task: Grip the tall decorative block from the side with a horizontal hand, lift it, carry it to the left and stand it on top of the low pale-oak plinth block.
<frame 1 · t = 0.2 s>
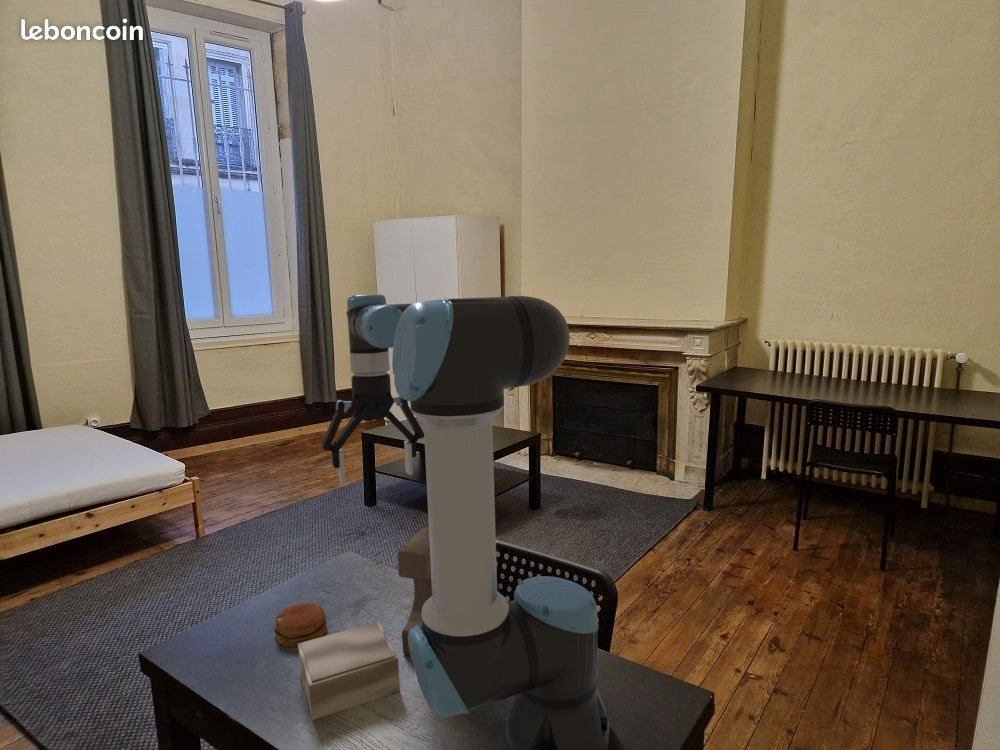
hand: (376, 478, 123), 27 cm above the table, tool pointing down, fingers open, 13 cm apart
burger: (301, 634, 118), on the table
decorative block: (429, 641, 115), on the table
plinth: (349, 683, 103), on the table
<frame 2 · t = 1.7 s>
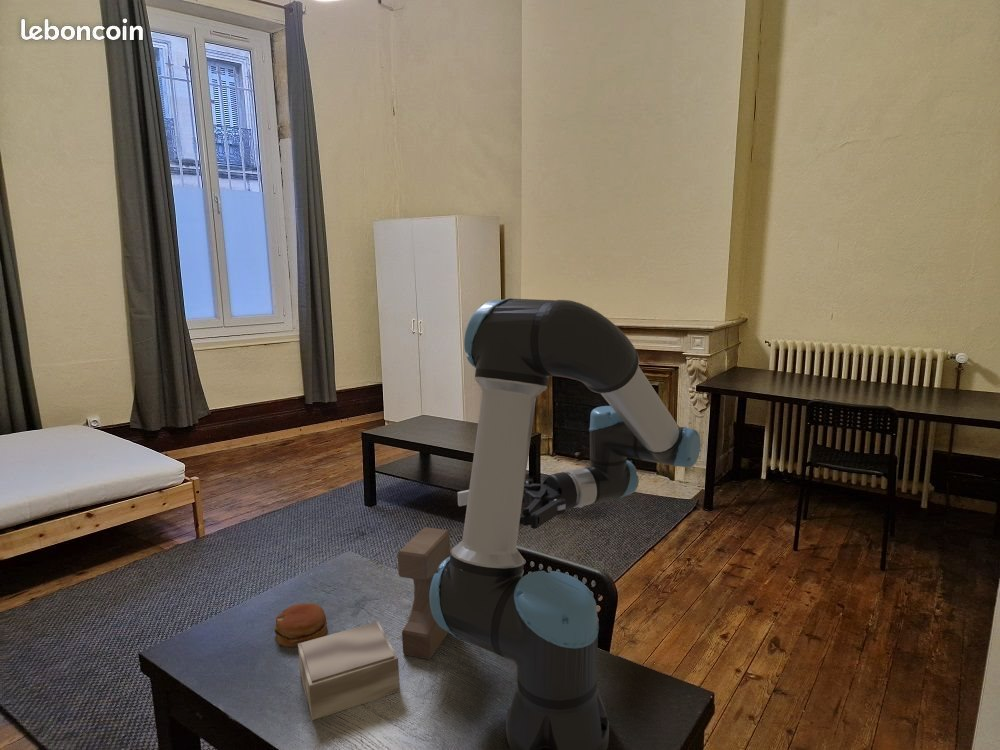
hand: (472, 511, 115), 23 cm above the table, tool horizontal, fingers open, 13 cm apart
nothing on the table moved.
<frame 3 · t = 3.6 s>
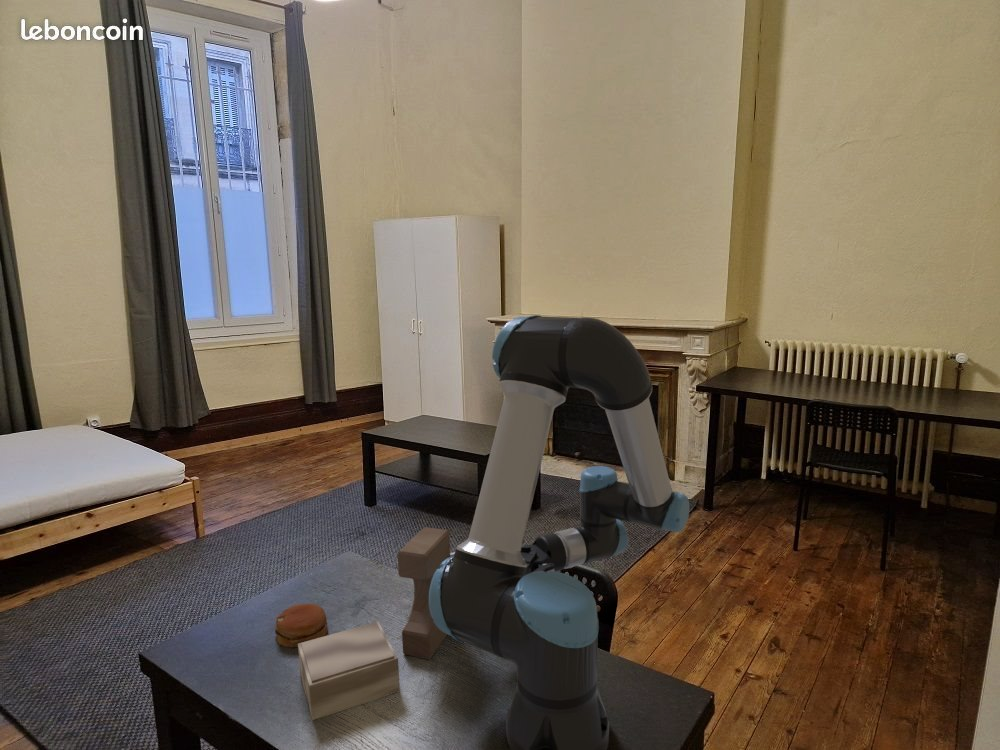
hand: (461, 575, 116), 11 cm above the table, tool horizontal, fingers open, 13 cm apart
nothing on the table moved.
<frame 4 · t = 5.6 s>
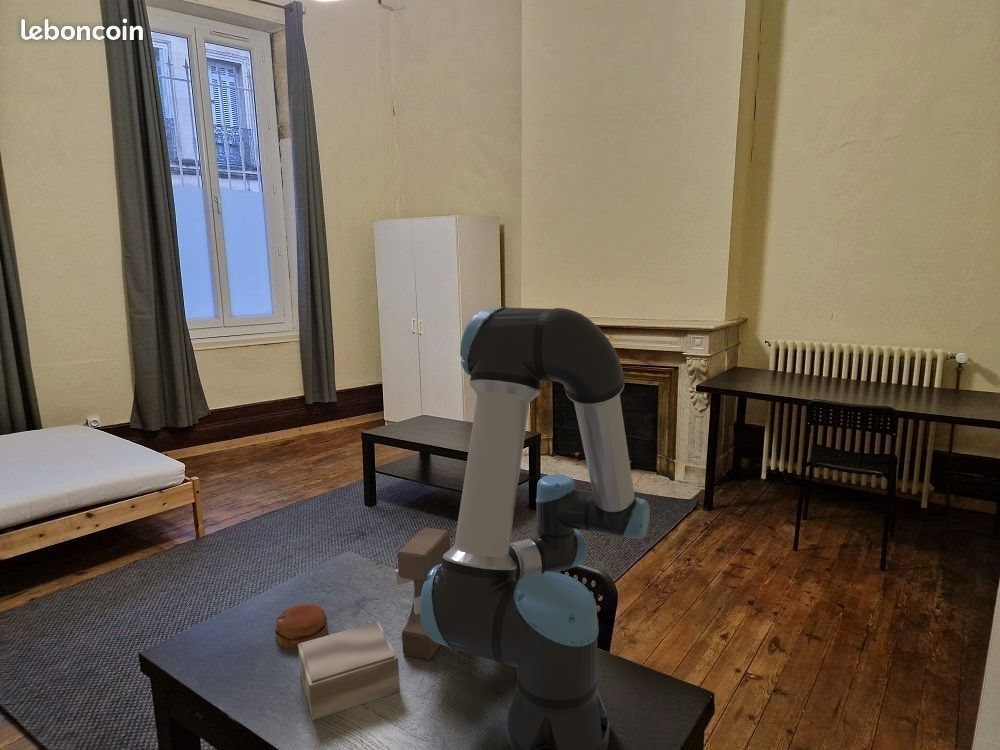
hand: (404, 591, 111), 11 cm above the table, tool horizontal, fingers open, 10 cm apart
decorative block: (429, 641, 114), on the table, touching gripper
everything else where it was.
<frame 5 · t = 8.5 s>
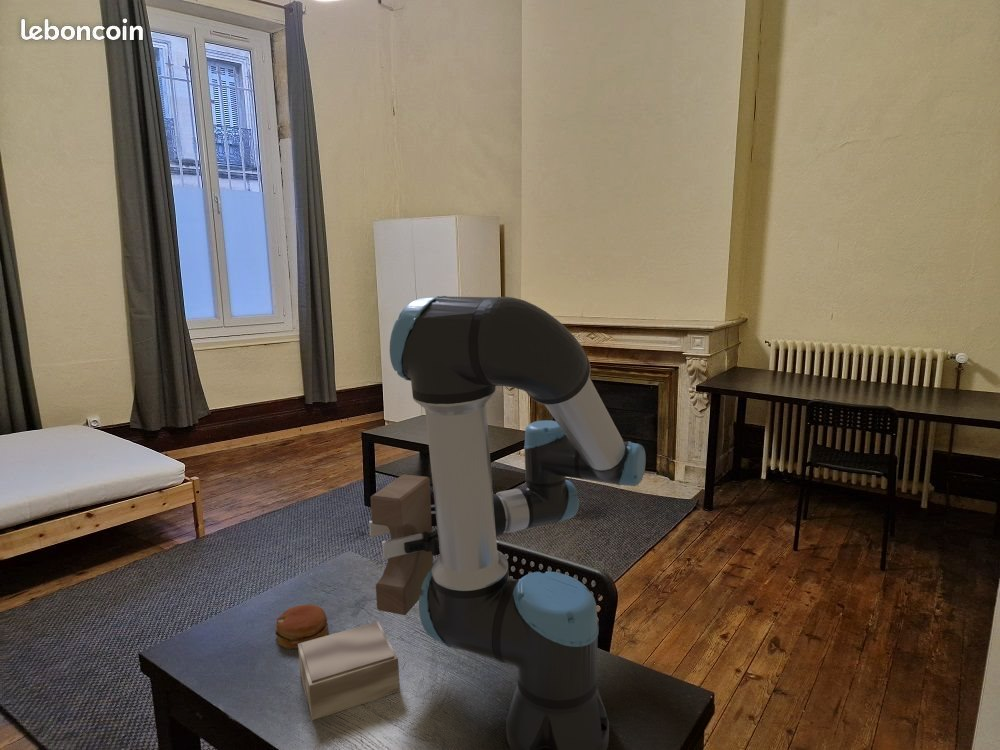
hand: (376, 539, 103), 24 cm above the table, tool horizontal, fingers closed on decorative block, 8 cm apart
decorative block: (406, 597, 105), point 13 cm above the table, touching gripper
everything else where it was.
when the fingers open (18 cm above the table, at t = 11.3 s): decorative block stays where it is, resting on plinth.
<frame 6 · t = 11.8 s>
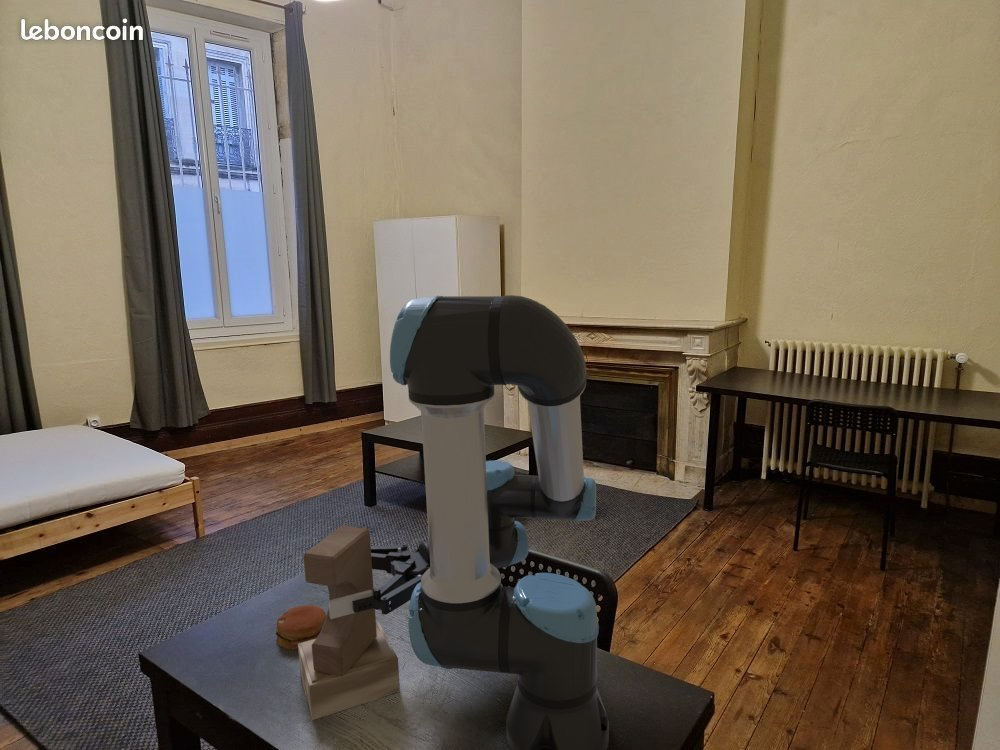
hand: (321, 589, 99), 18 cm above the table, tool horizontal, fingers open, 13 cm apart
decorative block: (346, 655, 101), point 6 cm above the table, touching plinth
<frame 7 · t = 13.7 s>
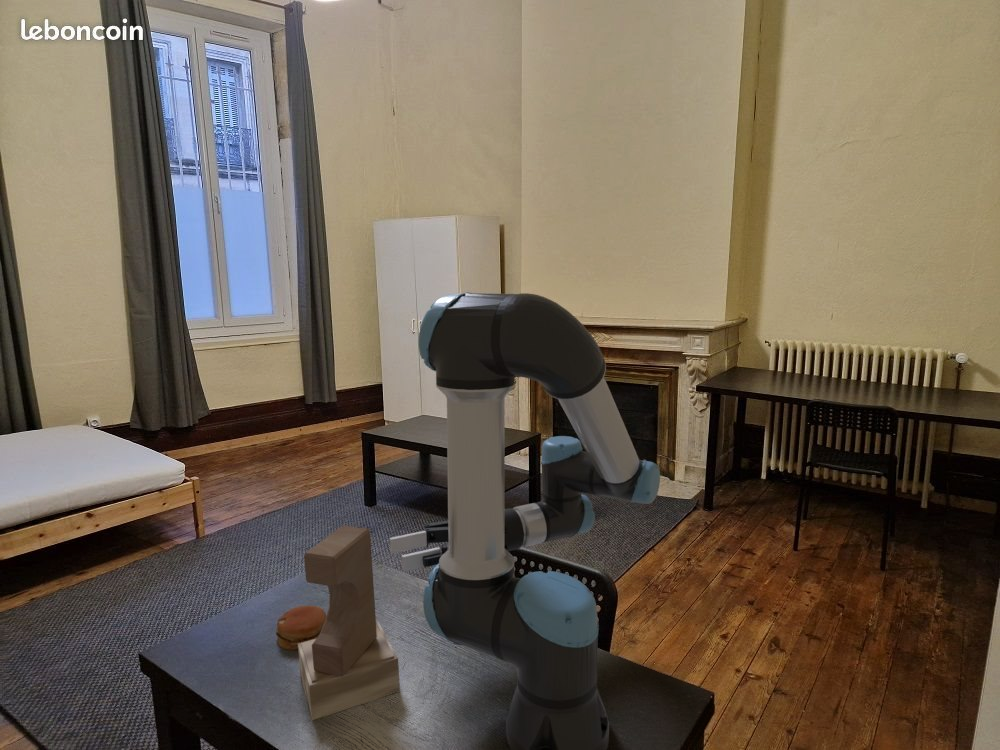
hand: (396, 554, 105), 20 cm above the table, tool horizontal, fingers open, 7 cm apart
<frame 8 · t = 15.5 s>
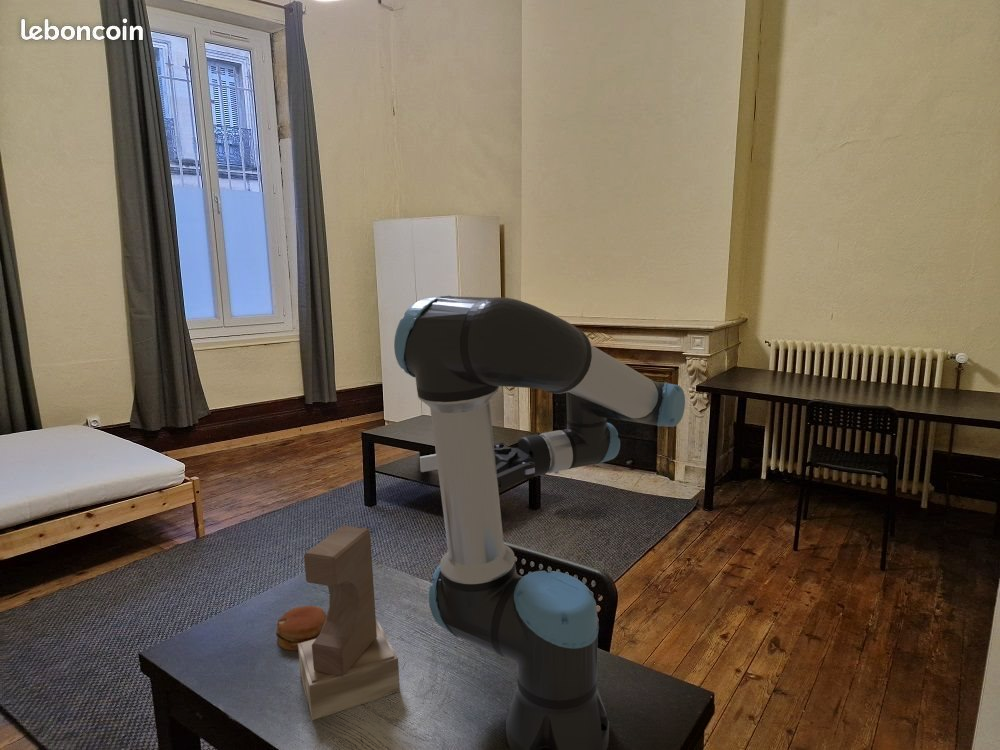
hand: (431, 475, 105), 33 cm above the table, tool horizontal, fingers open, 12 cm apart
at the end: decorative block inside the target area on the plinth (1.4 cm from its centre), point 6.1 cm above the plinth's base; decorative block tilted 0°; the gripper is holding nothing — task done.
